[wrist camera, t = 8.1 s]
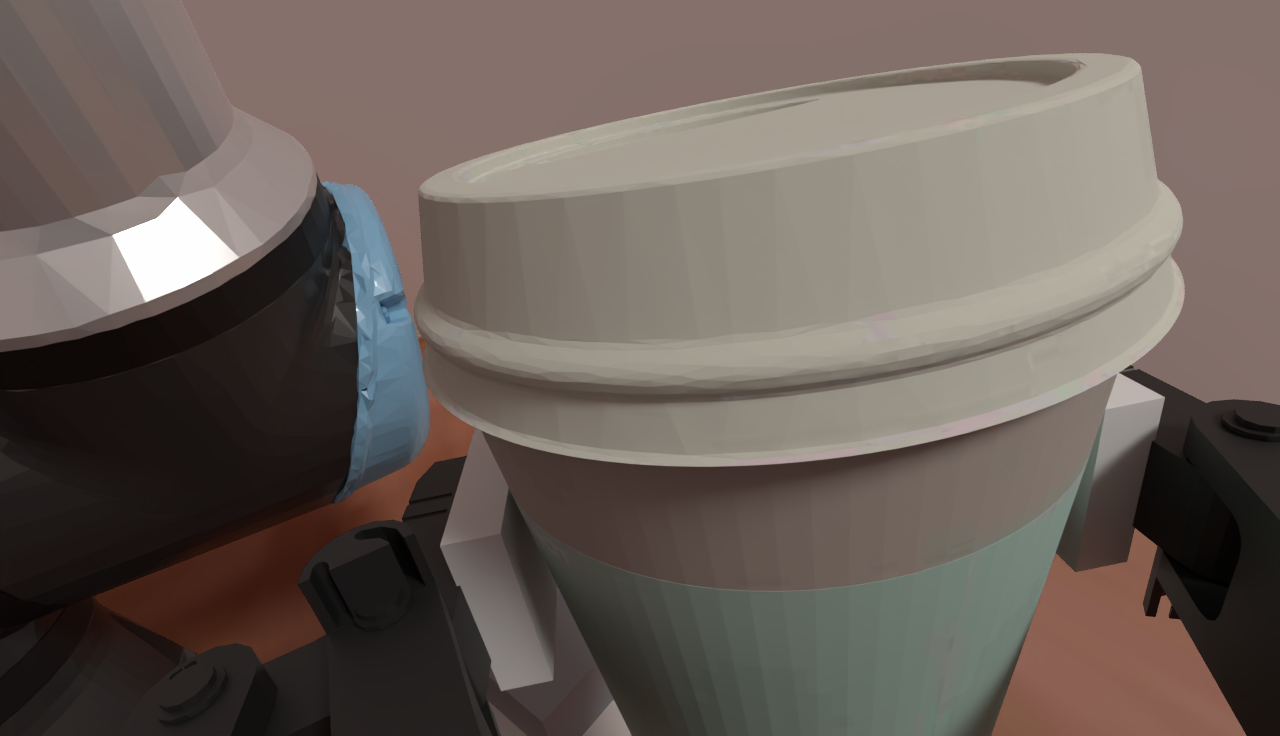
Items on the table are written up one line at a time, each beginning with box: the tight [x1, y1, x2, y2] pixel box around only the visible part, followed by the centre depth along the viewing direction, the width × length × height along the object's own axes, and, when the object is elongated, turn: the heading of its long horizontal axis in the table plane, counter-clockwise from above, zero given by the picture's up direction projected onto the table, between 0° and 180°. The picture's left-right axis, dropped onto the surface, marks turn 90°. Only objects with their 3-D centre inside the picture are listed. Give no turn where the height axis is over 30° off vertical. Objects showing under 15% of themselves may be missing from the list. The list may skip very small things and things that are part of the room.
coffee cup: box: [414, 53, 1185, 736], centre depth 10 cm, size 8×8×12 cm
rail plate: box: [486, 586, 632, 736], centre depth 35 cm, size 28×16×4 cm, turn 139°
